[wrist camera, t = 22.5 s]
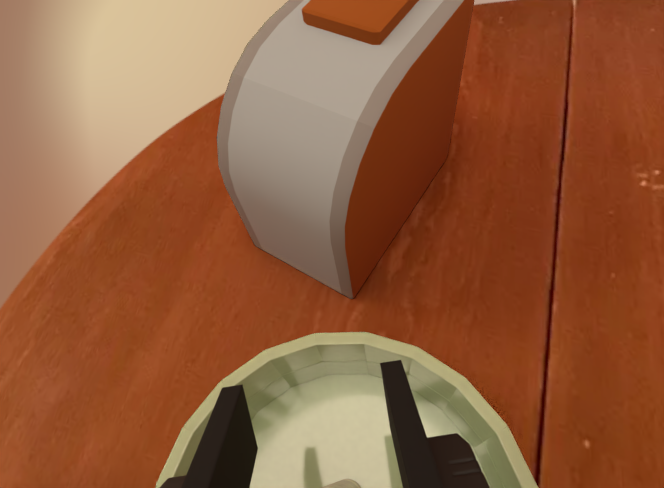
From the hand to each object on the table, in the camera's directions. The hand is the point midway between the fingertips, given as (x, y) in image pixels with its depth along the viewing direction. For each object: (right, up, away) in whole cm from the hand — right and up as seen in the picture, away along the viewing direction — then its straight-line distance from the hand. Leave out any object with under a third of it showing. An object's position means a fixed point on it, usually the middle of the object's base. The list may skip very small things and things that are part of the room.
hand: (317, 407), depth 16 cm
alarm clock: (+2, +10, +16) cm, 19 cm away
